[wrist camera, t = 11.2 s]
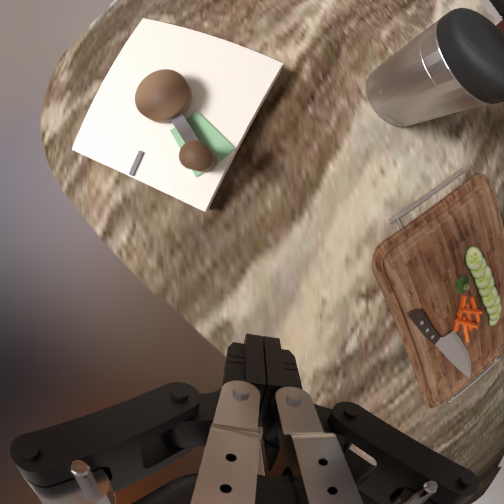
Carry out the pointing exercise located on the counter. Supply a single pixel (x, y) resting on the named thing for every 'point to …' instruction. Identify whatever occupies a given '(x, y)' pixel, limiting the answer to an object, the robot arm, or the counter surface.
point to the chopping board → (447, 286)
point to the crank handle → (174, 114)
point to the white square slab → (198, 114)
